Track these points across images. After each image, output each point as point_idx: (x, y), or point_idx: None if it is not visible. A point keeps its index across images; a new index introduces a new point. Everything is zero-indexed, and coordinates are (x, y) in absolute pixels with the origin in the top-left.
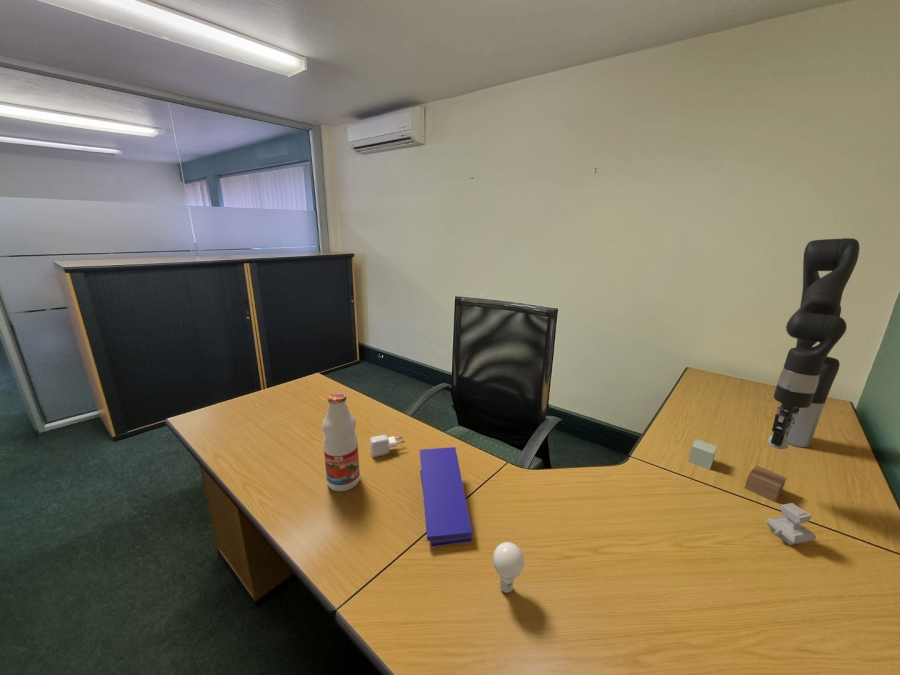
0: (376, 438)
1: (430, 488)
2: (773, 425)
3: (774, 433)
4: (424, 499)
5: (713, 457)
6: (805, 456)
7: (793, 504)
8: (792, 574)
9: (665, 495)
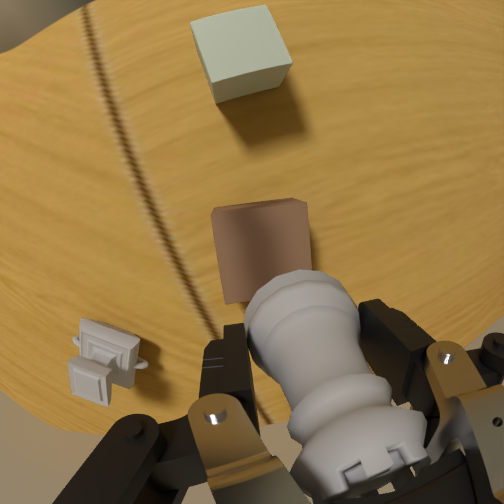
0: None
1: None
2: (74, 479)
3: (224, 385)
4: None
5: (241, 84)
6: (494, 233)
7: (104, 379)
8: (50, 363)
9: (10, 143)
